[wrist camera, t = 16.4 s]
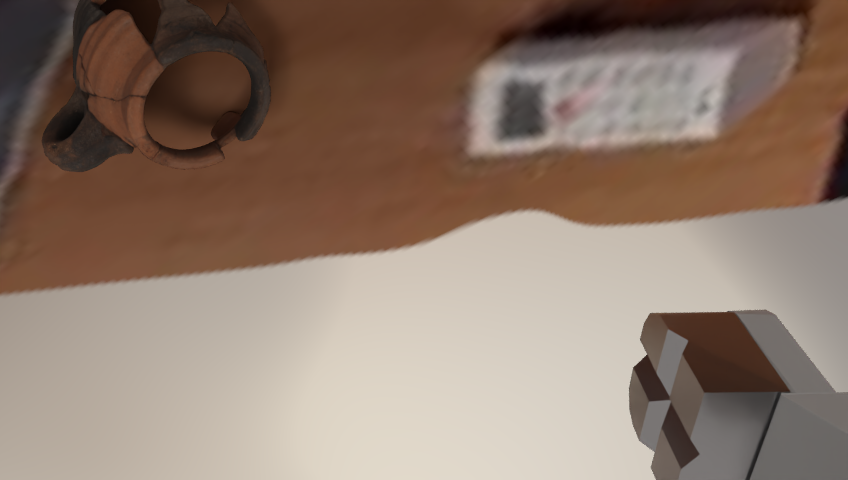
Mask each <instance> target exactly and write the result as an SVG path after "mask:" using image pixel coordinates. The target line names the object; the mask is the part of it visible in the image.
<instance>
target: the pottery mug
mask: <svg viewBox="0 0 848 480" xmlns="http://www.w3.org/2000/svg"><path fill="white" fill-rule="evenodd" d="M105 1H107V0H80V1H79V3H78V6H77V8H76V11H75V15H74V21H73V36H74V47H73V78H74V80H75V84H76V89H75V92H74V94H73V95H72V97H71V99H70V100H69V102H68V103H67V104H66V105H65V106H64V107H63V108H61V110H60V111H59V112H58V113H57V114H56V115H55V116H54V117H53V119H52V120H51V121H50V123H49V124H48V126H47V128H46V129H45V131H44V133H43V137H42V144H43V148H44V153H45V155H46V156H47V157H48V158H49V160H50V161H51V162H52V163H53V164H55V165H58V166H59V167H60V168H61V169H62V170H66V171H73V172H84V171H87V170H90V169H92V168H95V167H97V166H98V165H100V164H101V163H103V162H104V161H105V160H106V159H108V158H109V157H111V156H114V155H117V154H122V153H127V154H130V153H132V152H133V150H134V147H135V148H136V147H137V148H138V149H139V150H140V151H141V152H142V154H143V155H145V156H146V157H147V158H149V159H151V160H153V161H154V162H157V163H159V164H161V165H165V166H167V167H171V168H176V169H183V170H185V169H197V168H205V167H208V166H211V165H214V164H216V163H219V162H221V161H222V160H224V159H225V157H224V154H223V152H222V150H221V149H220V148H222V147H223V146H225V145H226V144H228V143H229V142H231V141H232V140H233V139H234V138H235V137H236V136H237V138H238V140H240V141H246V140H250V139H252V138H253V137H254V136H255V135H256V134H257V132H258V130H259V129H260V127H261V126H262V124H263V121H264V118H265V116H266V114H267V112H268V108H269V105H270V96H271V90H270V86H269V81H270V80H269V76H268V71H267V64H266V60H265V59H264V57H263V48H262V46H261V44H260V42H259V41H258V39H257V38H256V37H255V35H254V34H253V33H252V32H251V30H250V29H249V27H248V26H247V24H246V23H245V21H244V20H243V18H242V16H241V14H240V13H239V12H238V10H237V9H236V8H235V7H234V5H233V4H232V3H228V4H227V7H226V12H225V15H224V16H223V17H222V19H221V20H220V22H219V23H218V24H217V25H216V26H215V25H214V24H213V22H212V20H211V19H210V17H209V15H208V14H207V13H205V12H204V11H203V9H201V8H200V7H198V6H196V5H193V4H191V3H189V2H188V0H158V3H159V6H160V9H161V11H162V13H161V15H160V17H159V20H158V26H157V31H156V34H155V36H154V40H153V42H152V44H150V43H149V42H148V41H147V40H146V39H145V37H144V36H143V34H142V33H141V32H140V30H139V29H138V27H137V25H136V24H135V21H134V19H133V17H132V15H131V14H130V13H129V12H126V11H124V10H118V9H116V10H114V11H112V12H111V13H109V14H108V15H106V14H105V13H104V12H103V11H102V10H100V6H101V5H102V4H103V3H104V2H105ZM206 51H218V52H226V53H228V54H231V55H233V56H234V57H236V58H238V59H239V60H240V61H242V62H243V64H244V65H245V66H246V68H247V69H248V71H249V74H250V77H251V97H250V101H249V104H248V106H247V108H246V109H245V110H244V112H243V113H242V114H241V115H240V114H238V113H233V112H227V113H226V114H224V115H223V117H222V118H221V119H220V120H219V121H218V122H217V124H216V125H215V126H214V127H213V129H212V131H211V135H212V137H213V139H215V141H213V142H211V143H209V144H206V145H204V146H201V147H197V148H193V149H186V150H178V149H172V148H168V147H165V146H162V145H161V144H159V143H158V142H156V141H154V140H153V139H152V137H151V136H150V134H149V133H148V131H147V129H146V126H145V122H144V105H145V101H146V96H147V94H148V92H149V90H150V88H151V86H152V85H153V83H154V82H155V80H156V79H157V78H158V77H159V76H160V74H161V73H162V72H163V71H164V70H165V68H166V67H167V66H168V65H170V64H172V63H174V62H176V61H177V60H179V59H181V58H183V57H185V56H188V55H190V54H194V53H199V52H206Z"/></svg>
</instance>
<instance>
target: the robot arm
mask: <svg viewBox="0 0 848 480" xmlns="http://www.w3.org/2000/svg"><path fill="white" fill-rule="evenodd" d="M640 341H641V343H642V344H643V347H644V349H645V351H646V353H647V355H646V356H645V357H644V358H643V359H642V360H641V361H640V362H639V363H638V364H637V365H636V366H634V367H633V372H632V377H631V381H630V387H629V407H630V414H631V418H632V423H633V427H634V429H635V431H636V434H637V436H638V439H639V441H641V442H642V443H643V444H644V445H646V446H647V447H649V448H650V449H651V450H653V451H654V452H655V454H654V457H653V461H652V465H651V469H652V471H653V474H654V476H655V478H656V480H848V392H843V393H836V392H835V390H834V389H833V388H832V387H831V385H830V384H829V383H828V381H827V380H826V379H825V378H824V376H823V375H822V374H821V372H820V371H819V370H818V369H817V368H816V366H815V365H814V363H813V362H812V361H811V360H810V358H809V357H808V356H807V355H806V353H805V352H804V351H803V350H802V348H801V347H800V346H799V344H798V343H797V342H796V340H795V339H794V338H793V337H792V335H791V334H790V333H789V332H788V330H787V329H786V328H785V326H784V325H783V324H782V323H781V321H780V320H779V319H778V317H777V316H776V315H775V314H773V313H771V312H769V311H767V310H744V311H727V312H704V313H703V312H699V313H650V314H649V316H648V318H647V319H646V321H645V323H644V326H643V330H642V334H641V338H640Z"/></svg>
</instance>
